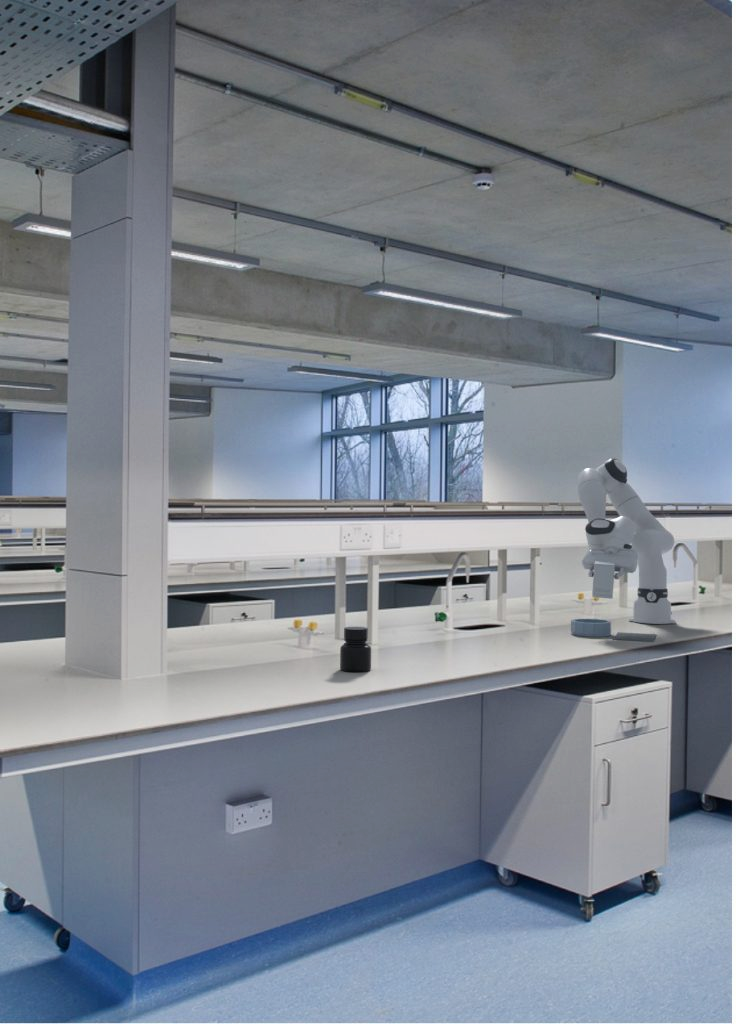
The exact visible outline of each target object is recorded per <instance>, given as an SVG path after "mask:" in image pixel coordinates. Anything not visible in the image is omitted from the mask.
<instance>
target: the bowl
mask: <svg viewBox="0 0 736 1024" xmlns="http://www.w3.org/2000/svg"><path fill="white" fill-rule="evenodd" d="M570 633H571V635H573V636H577V637H586V638H605V637H611V636H612V621H611V620H608V619H603V618H600V619H599V618H575V619H573V618H572V619H571V620H570Z"/></svg>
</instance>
